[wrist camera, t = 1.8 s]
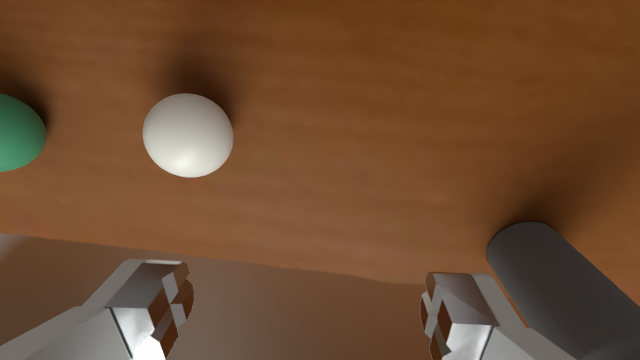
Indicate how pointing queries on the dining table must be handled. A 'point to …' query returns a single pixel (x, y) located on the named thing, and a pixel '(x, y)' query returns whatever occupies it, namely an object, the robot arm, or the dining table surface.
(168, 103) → the cue ball
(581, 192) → the dining table surface
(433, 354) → the robot arm
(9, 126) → the green ball
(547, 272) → the bottle
